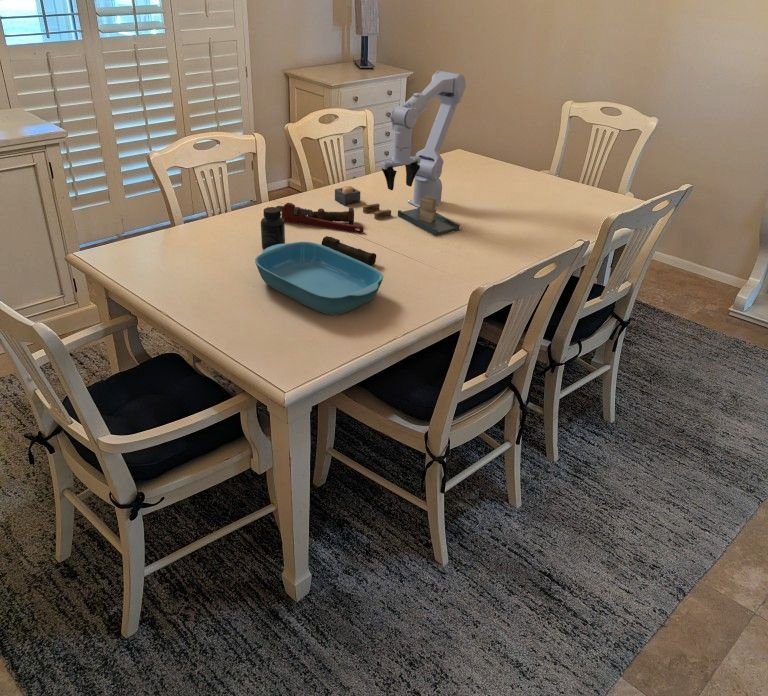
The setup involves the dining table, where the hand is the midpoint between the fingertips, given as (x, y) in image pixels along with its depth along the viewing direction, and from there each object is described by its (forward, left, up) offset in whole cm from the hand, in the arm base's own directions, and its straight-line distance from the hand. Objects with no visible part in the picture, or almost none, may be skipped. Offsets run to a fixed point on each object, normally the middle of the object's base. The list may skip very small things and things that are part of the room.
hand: (399, 187), depth 225 cm
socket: (+6, -4, -9) cm, 12 cm away
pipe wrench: (+29, -4, -10) cm, 31 cm away
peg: (-4, +11, -8) cm, 14 cm away
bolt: (+23, -5, -10) cm, 26 cm away
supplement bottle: (+49, +4, -10) cm, 50 cm away
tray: (-4, +11, -9) cm, 15 cm away
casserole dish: (+51, +34, -10) cm, 62 cm away
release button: (+8, -19, -9) cm, 22 cm away
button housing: (+8, -19, -9) cm, 23 cm away
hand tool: (+34, +20, -10) cm, 41 cm away
